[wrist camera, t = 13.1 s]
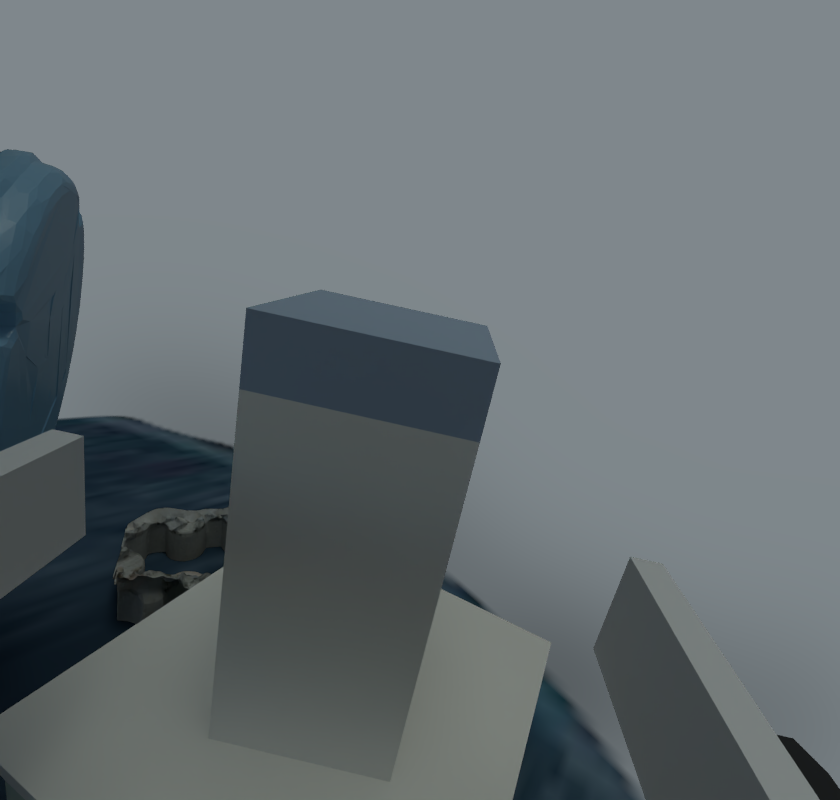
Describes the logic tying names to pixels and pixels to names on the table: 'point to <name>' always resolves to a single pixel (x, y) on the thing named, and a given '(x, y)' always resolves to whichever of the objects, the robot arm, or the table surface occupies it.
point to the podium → (252, 769)
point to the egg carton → (180, 541)
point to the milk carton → (342, 521)
